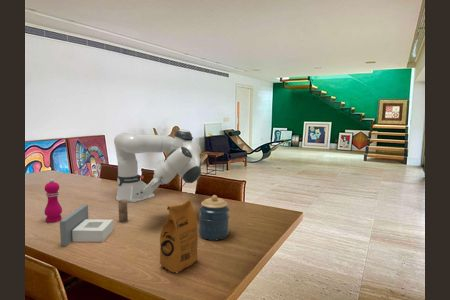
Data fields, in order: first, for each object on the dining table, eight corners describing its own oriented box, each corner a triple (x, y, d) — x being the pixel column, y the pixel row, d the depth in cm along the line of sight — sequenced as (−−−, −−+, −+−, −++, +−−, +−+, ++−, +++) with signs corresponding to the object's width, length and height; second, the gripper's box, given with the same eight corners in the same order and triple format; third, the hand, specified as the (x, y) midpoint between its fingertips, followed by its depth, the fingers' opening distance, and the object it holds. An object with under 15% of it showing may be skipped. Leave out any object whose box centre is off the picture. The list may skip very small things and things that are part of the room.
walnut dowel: (125, 218, 142) (125, 199, 141) (129, 221, 139) (128, 201, 138) (117, 220, 139) (117, 200, 138) (120, 223, 136) (120, 202, 135)
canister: (217, 244, 118) (218, 201, 115) (192, 236, 124) (193, 196, 122) (234, 233, 128) (235, 194, 126) (210, 226, 135) (210, 189, 133)
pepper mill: (44, 224, 133) (41, 181, 131) (45, 218, 140) (43, 178, 137) (62, 221, 137) (60, 180, 134) (62, 216, 143) (60, 176, 140)
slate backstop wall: (88, 225, 132) (87, 204, 131) (66, 246, 113) (65, 221, 111) (84, 225, 132) (83, 204, 131) (61, 246, 112) (59, 221, 111)
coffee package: (155, 266, 100) (155, 204, 97) (181, 252, 110) (181, 196, 107) (175, 276, 94) (176, 210, 91) (201, 261, 104) (202, 201, 101)
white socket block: (113, 230, 129) (113, 219, 128) (102, 242, 117) (102, 230, 116) (85, 230, 128) (85, 219, 128) (72, 242, 117) (72, 230, 116)
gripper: (164, 185, 126) (142, 206, 127) (171, 174, 146) (152, 193, 147) (153, 175, 125) (131, 196, 126) (162, 166, 146) (143, 184, 147)
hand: (142, 194), depth 137 cm, fingers open, 8 cm apart
